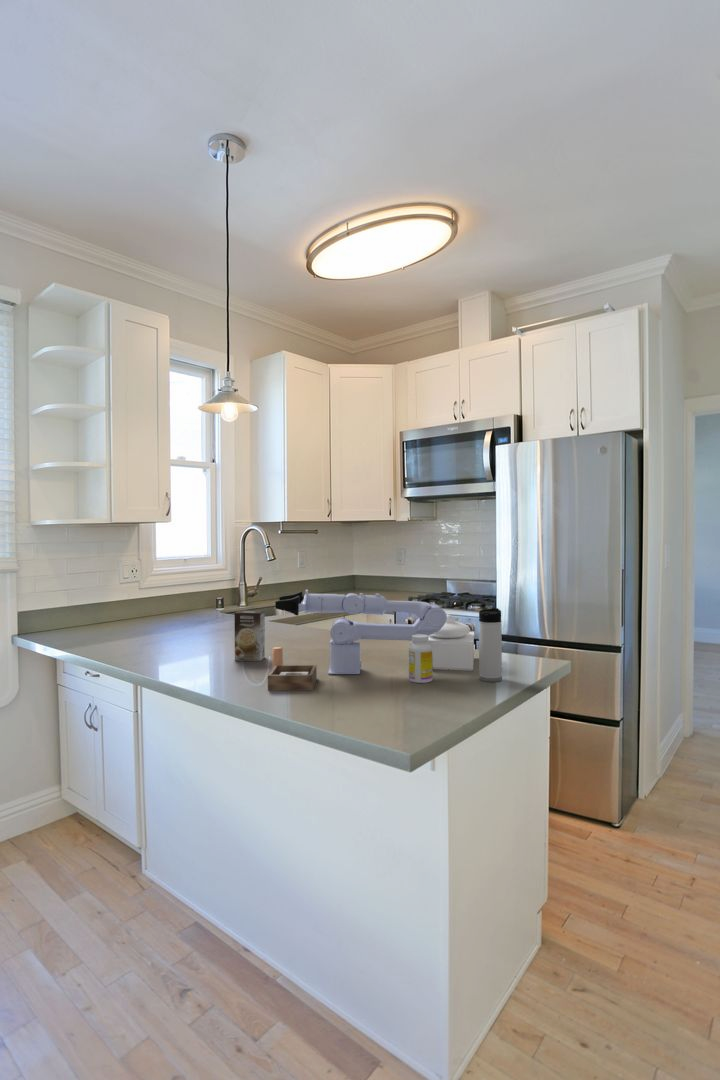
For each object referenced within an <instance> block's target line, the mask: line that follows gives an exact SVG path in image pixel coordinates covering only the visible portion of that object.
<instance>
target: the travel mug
mask: <svg viewBox="0 0 720 1080" xmlns="http://www.w3.org/2000/svg"><path fill="white" fill-rule="evenodd" d="M502 633H503V632H502V610H501V609H499V608H497V607H492V608H487V609H486V608H485V609H482V610H479V611H478V654H479V656H478V658H479V660H478V661H479V662H478V667H479V669H478V673H479V674H478V675H479V677H478V679H479V680H480V681H483V682H487V683H498V682H497V681H499V682H501V681H502V680H503V673H502V672H503V670H502V669H503V667H502V665H503V662H502V661H503V657H502V655H503V653H502V648H503V647H502V646H503V645H502V644H503V643H502V642H503V641H502Z"/></svg>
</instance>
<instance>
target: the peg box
mask: <svg viewBox="0 0 720 1080" xmlns="http://www.w3.org/2000/svg"><path fill="white" fill-rule="evenodd" d="M317 675H318V674H317V664H283V665H275V666H274V668H273V667H272V669H271V670H270V672H269V673H268V674H267V691H313V689H314V686H315V683H316V681H317V679H318V678H317Z"/></svg>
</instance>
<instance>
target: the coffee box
mask: <svg viewBox="0 0 720 1080" xmlns="http://www.w3.org/2000/svg"><path fill="white" fill-rule="evenodd" d="M265 612H266V611H265V610H254V609H253V610H250V609H249V610H247V609H245V610H244V609H243V610H242V609H241V610H237V611H235V612H234V661H238V662H239V661H240V662H241V661H243V662H247V661H249V662H261V661H262V660H263V659H265V658H266V654H265V653H266V652H265V651H266V650H265V649H266V646H265V645H266V644H265V641H266V639H265V636H266V633H265V631H266V629H265V628H266V627H265V625H266V623H265V621H266V620H265V619H266V618H265V617H266V616H265V615H266V614H265Z"/></svg>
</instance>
